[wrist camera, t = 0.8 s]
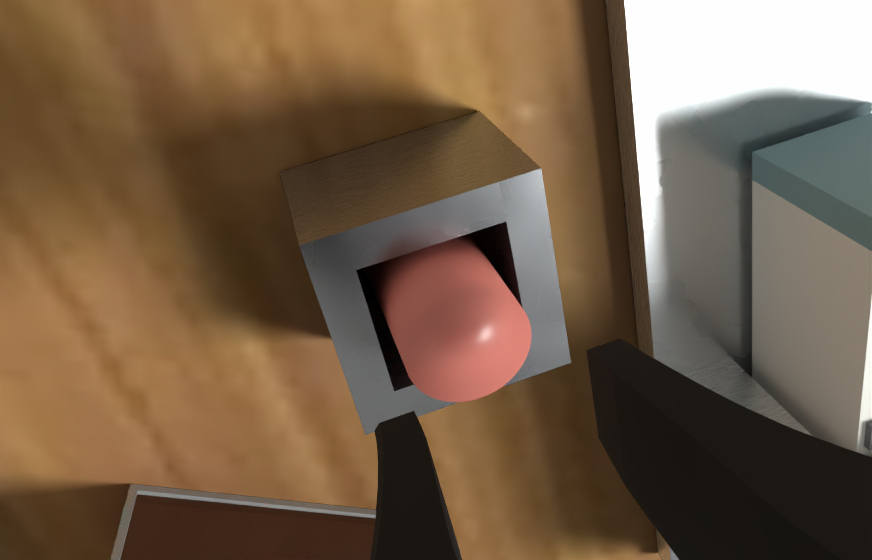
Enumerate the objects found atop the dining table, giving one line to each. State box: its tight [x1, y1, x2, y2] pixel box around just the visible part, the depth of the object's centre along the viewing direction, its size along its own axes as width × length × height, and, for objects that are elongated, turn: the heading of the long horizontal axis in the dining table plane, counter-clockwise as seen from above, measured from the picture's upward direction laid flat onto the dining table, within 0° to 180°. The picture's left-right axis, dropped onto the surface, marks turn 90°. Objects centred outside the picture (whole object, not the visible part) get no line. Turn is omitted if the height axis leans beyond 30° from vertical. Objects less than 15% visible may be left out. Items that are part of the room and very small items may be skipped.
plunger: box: [366, 234, 531, 402], centre depth 17 cm, size 3×3×4 cm
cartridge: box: [752, 113, 872, 457], centre depth 22 cm, size 14×4×5 cm, turn 13°
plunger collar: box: [280, 111, 571, 435], centre depth 18 cm, size 5×5×4 cm
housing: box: [606, 0, 872, 560], centre depth 21 cm, size 21×10×7 cm, turn 13°
